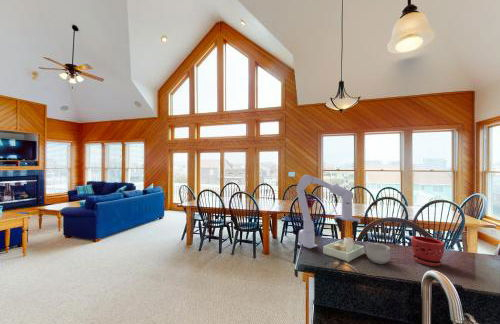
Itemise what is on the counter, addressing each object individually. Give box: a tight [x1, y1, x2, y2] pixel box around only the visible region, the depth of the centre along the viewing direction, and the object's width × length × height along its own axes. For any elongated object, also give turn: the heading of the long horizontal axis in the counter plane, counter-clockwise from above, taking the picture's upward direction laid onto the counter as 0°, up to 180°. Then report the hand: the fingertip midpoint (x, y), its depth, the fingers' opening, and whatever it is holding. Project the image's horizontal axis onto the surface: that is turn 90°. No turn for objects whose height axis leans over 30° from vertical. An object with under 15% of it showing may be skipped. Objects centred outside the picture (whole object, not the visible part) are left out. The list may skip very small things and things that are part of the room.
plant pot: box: [410, 235, 445, 267], centre depth 112 cm, size 13×13×12 cm
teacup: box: [365, 242, 391, 265], centre depth 114 cm, size 14×11×8 cm
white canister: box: [343, 236, 354, 252], centre depth 126 cm, size 5×5×7 cm
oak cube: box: [333, 243, 346, 253], centre depth 120 cm, size 5×5×5 cm
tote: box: [322, 239, 365, 263], centre depth 123 cm, size 14×19×4 cm
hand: (346, 232), depth 130 cm, fingers open, 7 cm apart
